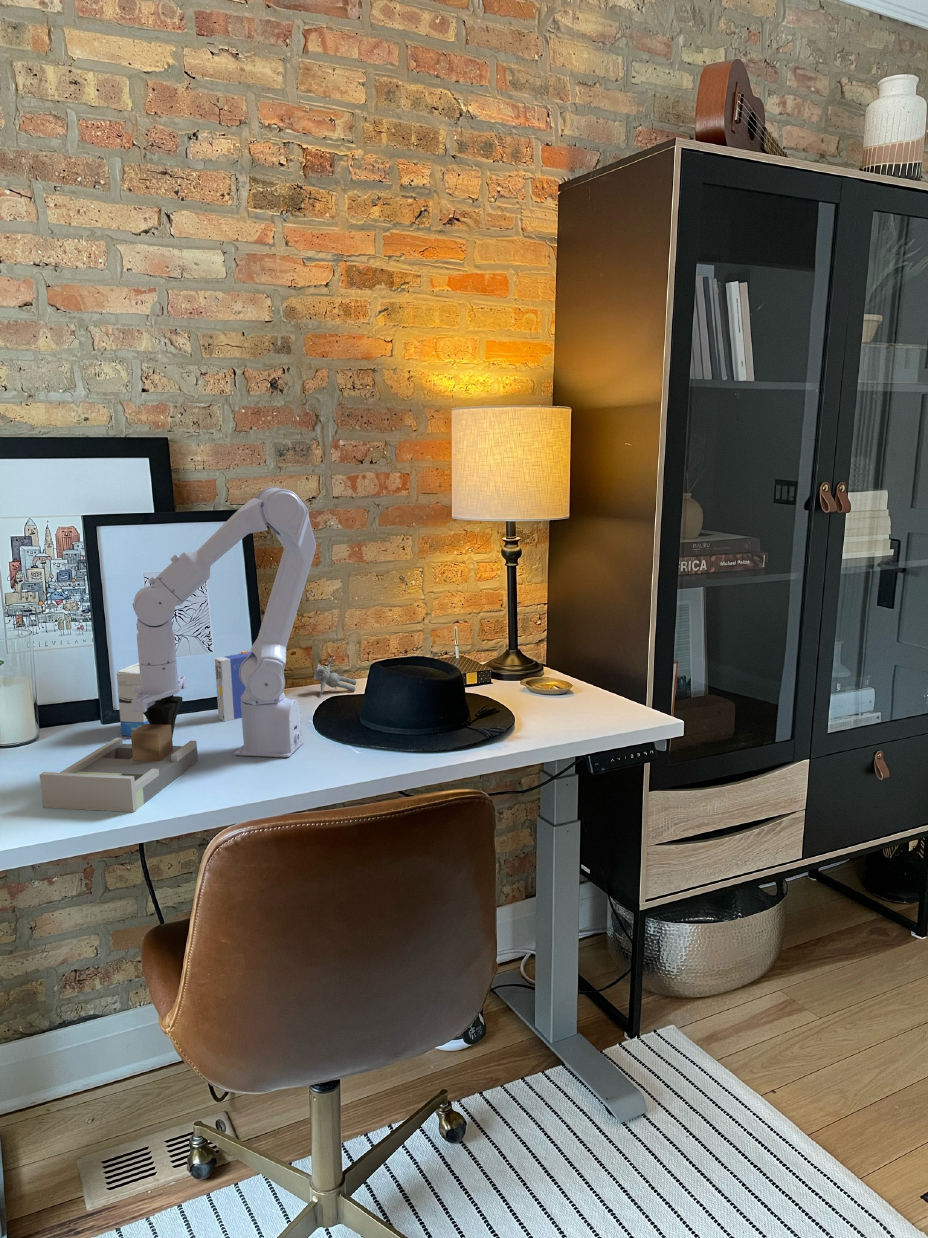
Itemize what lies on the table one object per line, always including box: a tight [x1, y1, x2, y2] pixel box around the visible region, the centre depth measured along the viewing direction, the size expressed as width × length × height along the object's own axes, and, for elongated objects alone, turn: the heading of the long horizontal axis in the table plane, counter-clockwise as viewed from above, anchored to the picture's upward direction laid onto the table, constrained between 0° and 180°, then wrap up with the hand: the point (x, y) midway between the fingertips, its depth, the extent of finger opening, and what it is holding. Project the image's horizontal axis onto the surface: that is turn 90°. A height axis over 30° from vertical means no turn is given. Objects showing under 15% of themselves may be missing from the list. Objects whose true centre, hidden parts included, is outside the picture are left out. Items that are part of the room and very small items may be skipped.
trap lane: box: [38, 737, 199, 813], centre depth 142 cm, size 14×21×5 cm, turn 171°
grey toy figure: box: [313, 657, 358, 698], centre depth 191 cm, size 10×6×9 cm
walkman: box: [214, 650, 250, 722], centre depth 175 cm, size 8×3×12 cm, turn 133°
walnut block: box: [130, 724, 174, 761], centre depth 146 cm, size 4×4×4 cm
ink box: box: [116, 661, 149, 737], centre depth 167 cm, size 8×5×12 cm, turn 168°
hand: (164, 742), depth 150 cm, fingers closed
